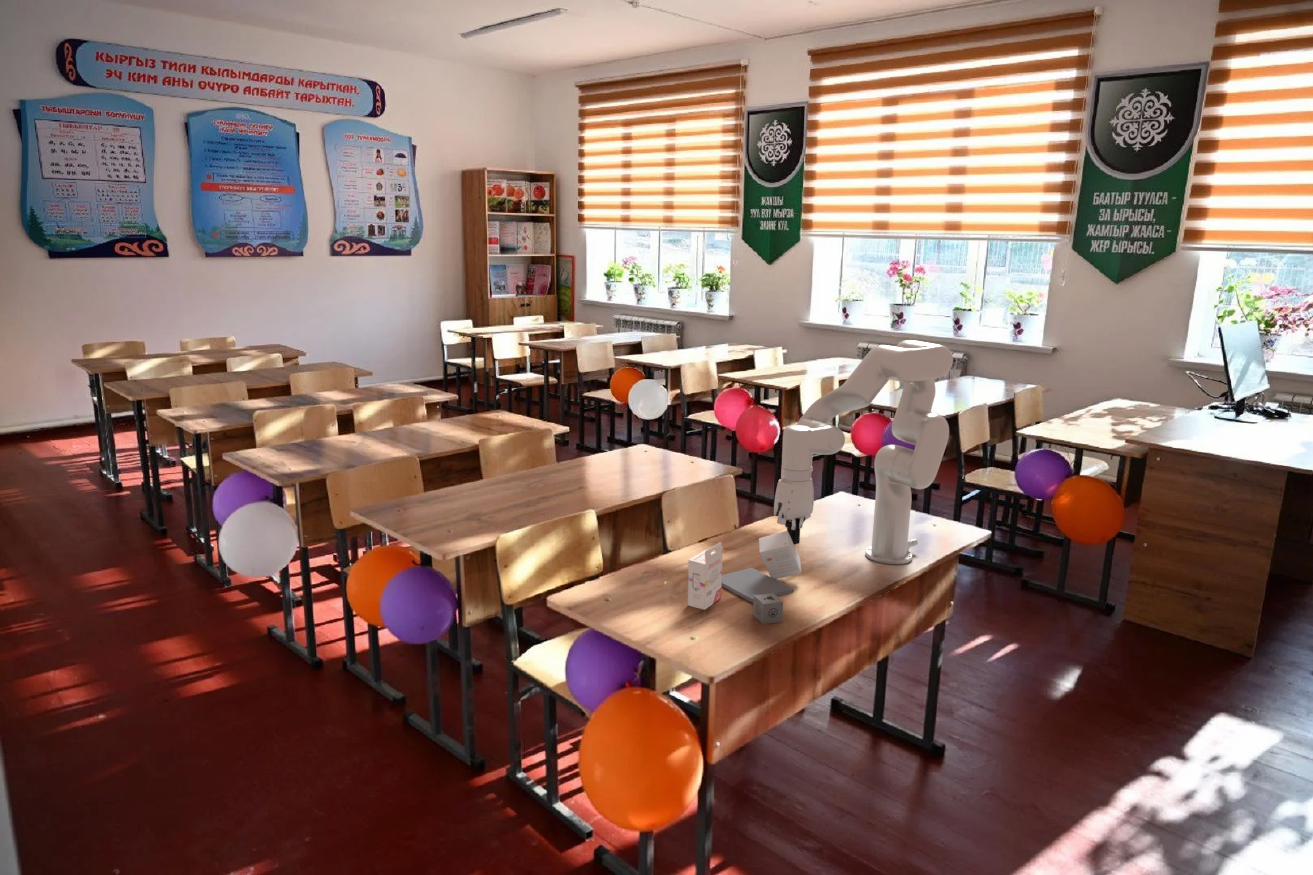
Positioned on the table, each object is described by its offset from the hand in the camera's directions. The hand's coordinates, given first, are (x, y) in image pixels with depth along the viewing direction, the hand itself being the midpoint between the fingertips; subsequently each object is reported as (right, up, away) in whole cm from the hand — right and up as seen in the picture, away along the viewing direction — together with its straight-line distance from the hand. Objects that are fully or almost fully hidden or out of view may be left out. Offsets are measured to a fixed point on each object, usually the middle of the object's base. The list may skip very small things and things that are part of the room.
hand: (792, 542), depth 223 cm
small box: (-2, -7, +1) cm, 7 cm away
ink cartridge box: (-24, -13, -14) cm, 31 cm away
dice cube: (-9, -15, -23) cm, 29 cm away
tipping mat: (-11, -11, -5) cm, 16 cm away
